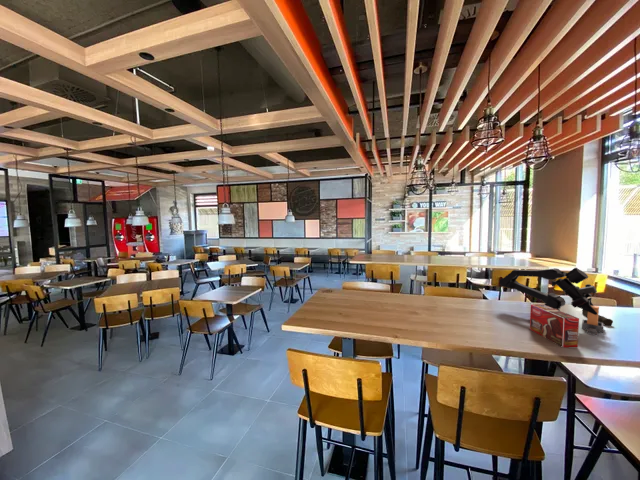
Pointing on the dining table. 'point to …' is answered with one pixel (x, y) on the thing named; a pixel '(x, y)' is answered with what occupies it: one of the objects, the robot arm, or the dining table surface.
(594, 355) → the dining table surface
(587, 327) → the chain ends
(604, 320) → the hand tool
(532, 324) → the ice cream box
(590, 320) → the orange rectangular block
